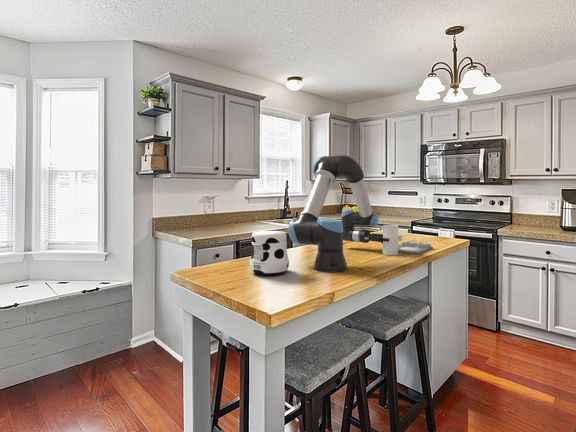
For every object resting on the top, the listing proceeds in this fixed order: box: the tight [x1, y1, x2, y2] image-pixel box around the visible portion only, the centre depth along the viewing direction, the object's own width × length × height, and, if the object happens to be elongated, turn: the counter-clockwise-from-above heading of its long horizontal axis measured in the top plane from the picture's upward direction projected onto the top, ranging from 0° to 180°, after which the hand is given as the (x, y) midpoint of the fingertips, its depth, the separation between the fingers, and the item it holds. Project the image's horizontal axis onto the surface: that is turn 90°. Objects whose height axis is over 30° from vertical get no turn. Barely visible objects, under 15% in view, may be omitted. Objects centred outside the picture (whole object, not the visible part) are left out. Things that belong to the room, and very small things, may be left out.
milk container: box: [249, 230, 290, 276], centre depth 157 cm, size 17×17×18 cm
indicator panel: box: [398, 240, 434, 256], centre depth 207 cm, size 24×18×4 cm
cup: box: [382, 224, 399, 256], centre depth 196 cm, size 8×8×16 cm
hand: (398, 239), depth 193 cm, fingers closed on cup, 8 cm apart
